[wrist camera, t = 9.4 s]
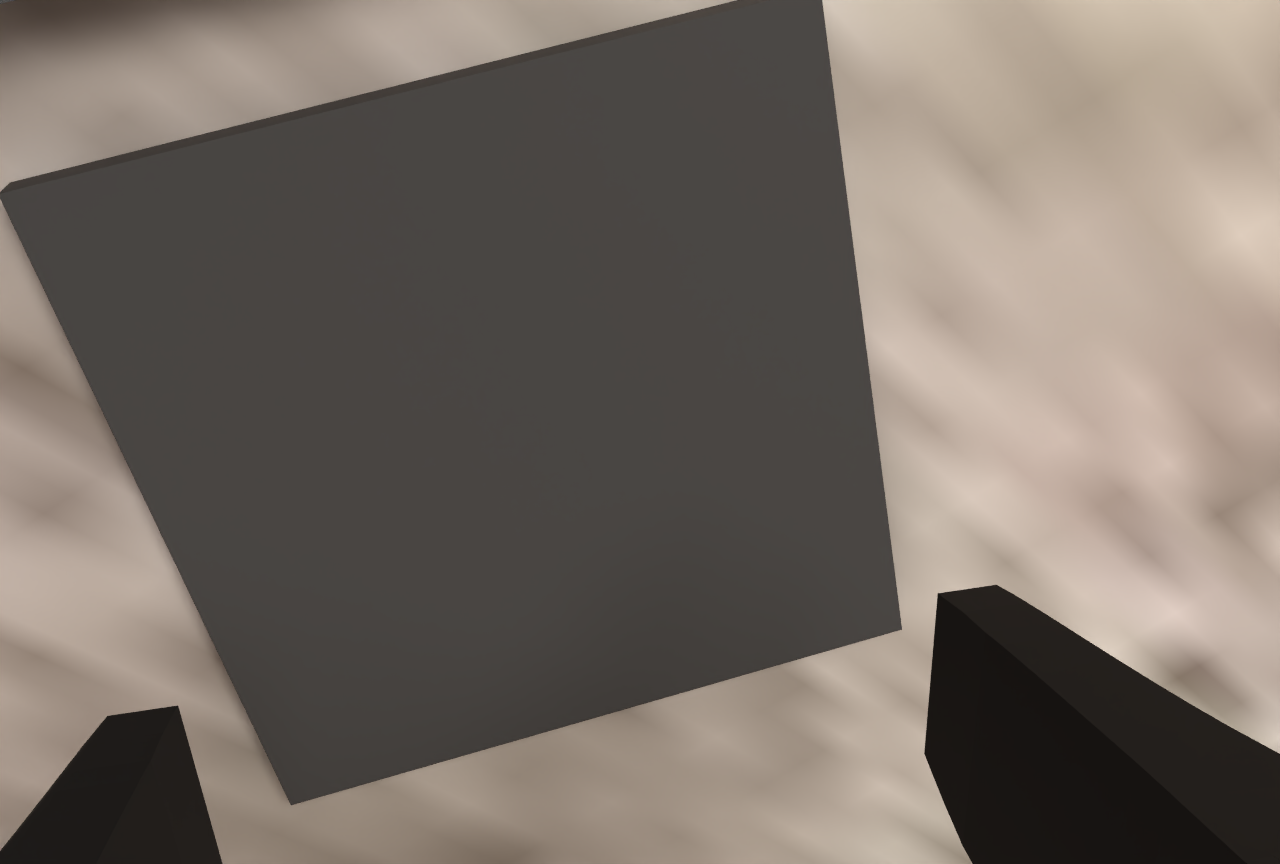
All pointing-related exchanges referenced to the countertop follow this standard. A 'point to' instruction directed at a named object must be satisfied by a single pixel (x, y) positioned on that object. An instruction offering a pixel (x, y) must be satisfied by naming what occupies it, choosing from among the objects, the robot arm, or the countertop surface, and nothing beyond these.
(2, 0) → the base
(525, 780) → the countertop surface
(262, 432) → the key mat
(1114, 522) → the countertop surface
